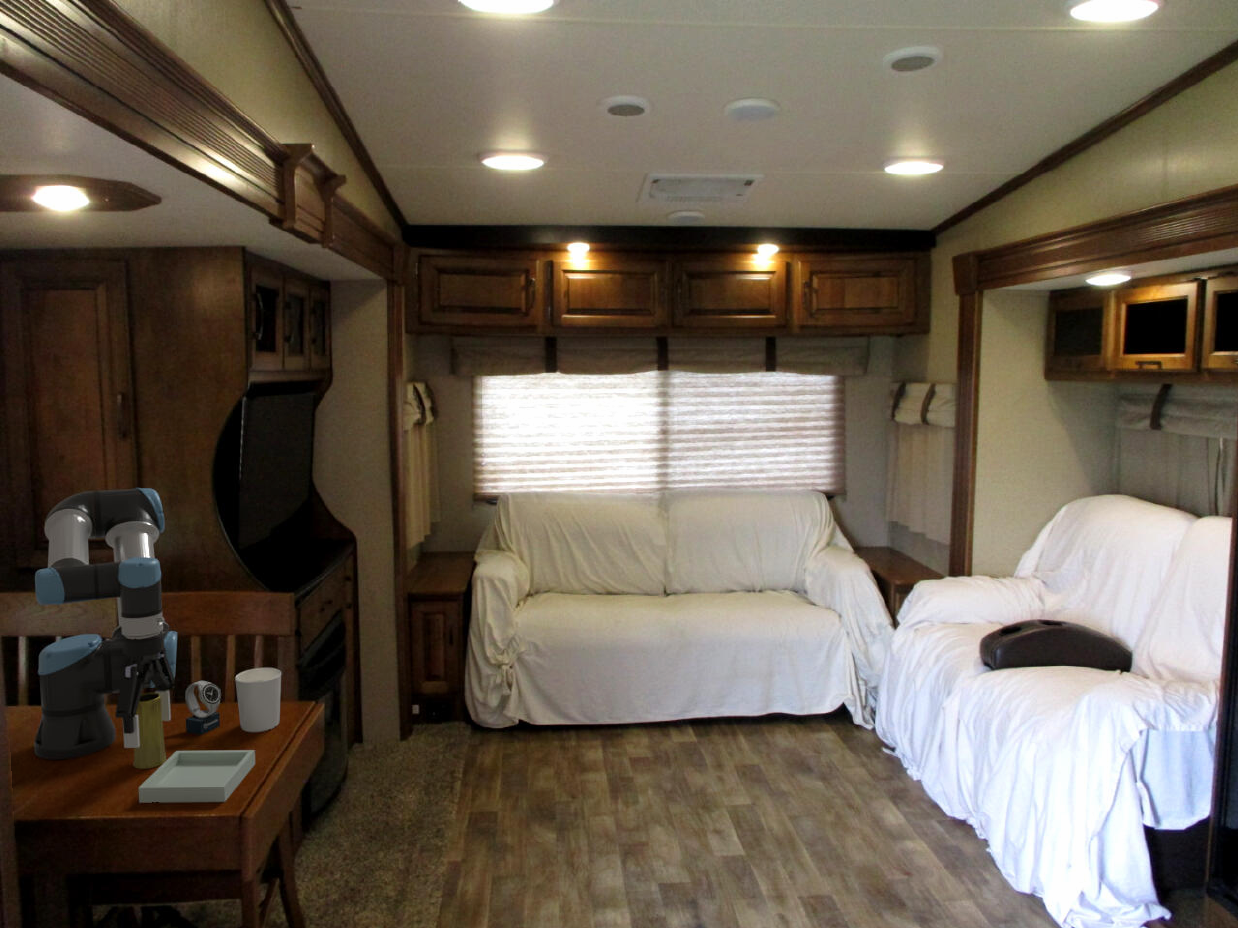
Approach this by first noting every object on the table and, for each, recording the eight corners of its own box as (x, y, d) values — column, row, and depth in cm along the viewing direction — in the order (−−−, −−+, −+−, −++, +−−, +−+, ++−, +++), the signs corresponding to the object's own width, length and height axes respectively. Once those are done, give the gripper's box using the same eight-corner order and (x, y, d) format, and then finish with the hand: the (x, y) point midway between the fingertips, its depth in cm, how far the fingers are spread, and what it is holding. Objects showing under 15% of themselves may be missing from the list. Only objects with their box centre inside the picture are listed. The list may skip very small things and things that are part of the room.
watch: (207, 736, 199) (205, 689, 198) (180, 730, 202) (178, 684, 200) (226, 726, 204) (224, 680, 203) (199, 721, 207) (197, 675, 206)
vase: (152, 770, 182) (148, 703, 181) (126, 767, 184) (122, 701, 182) (173, 757, 188) (169, 692, 187) (147, 754, 190) (144, 690, 188)
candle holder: (253, 714, 211) (251, 666, 210) (291, 718, 209) (289, 669, 208) (228, 731, 202) (225, 680, 200) (267, 735, 200) (266, 683, 198)
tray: (139, 802, 169) (138, 787, 169) (177, 764, 185) (176, 750, 185) (224, 801, 170) (224, 786, 170) (255, 763, 186) (254, 749, 186)
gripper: (131, 652, 170) (137, 758, 173) (188, 616, 195) (192, 709, 197) (91, 653, 170) (97, 759, 172) (153, 616, 195) (158, 710, 197)
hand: (148, 733), depth 185 cm, fingers open, 13 cm apart
